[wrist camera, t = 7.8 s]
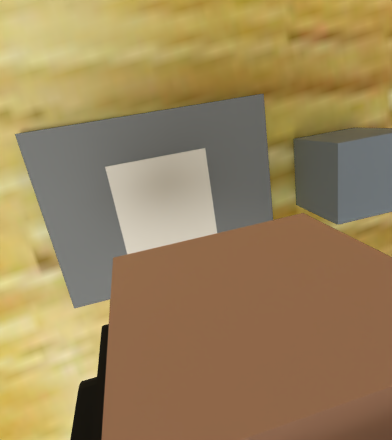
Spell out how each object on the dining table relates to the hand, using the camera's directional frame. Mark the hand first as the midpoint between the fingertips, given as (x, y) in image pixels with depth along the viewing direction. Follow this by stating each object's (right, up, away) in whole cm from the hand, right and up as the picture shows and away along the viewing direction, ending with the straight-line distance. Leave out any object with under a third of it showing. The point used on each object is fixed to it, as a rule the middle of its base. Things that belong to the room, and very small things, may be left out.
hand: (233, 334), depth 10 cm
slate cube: (+11, +8, +19) cm, 23 cm away
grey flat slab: (-4, +5, +16) cm, 17 cm away
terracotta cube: (0, 0, +1) cm, 1 cm away
